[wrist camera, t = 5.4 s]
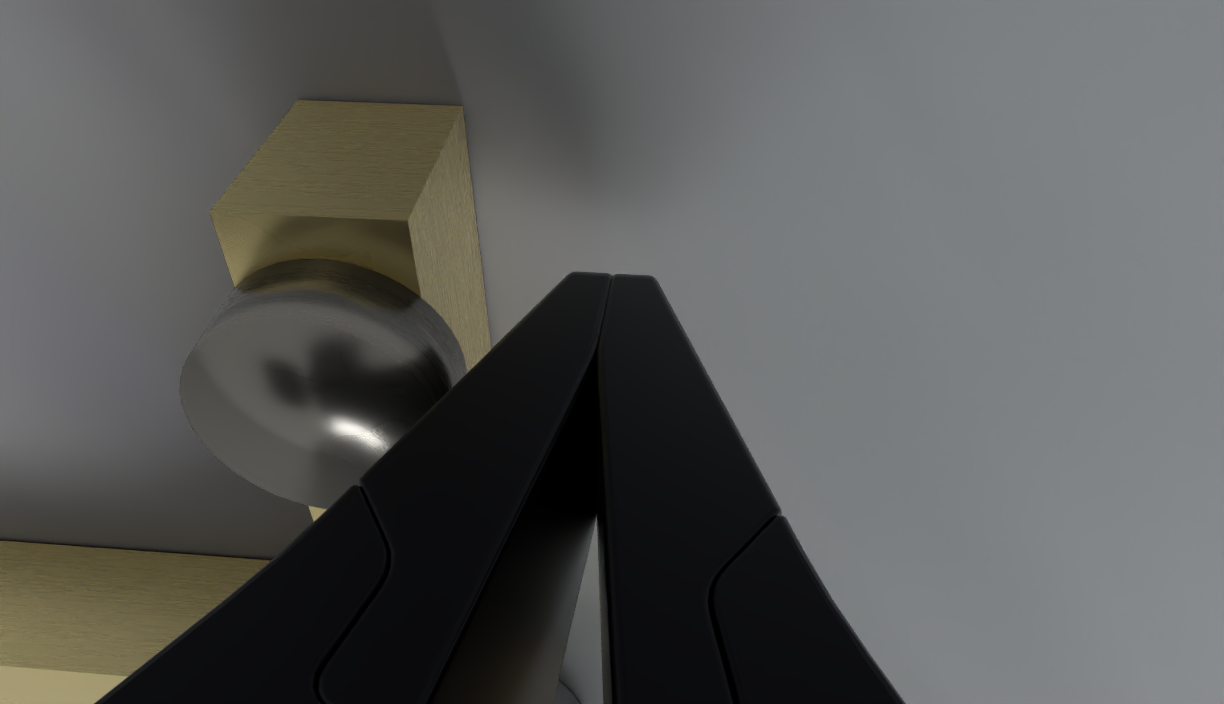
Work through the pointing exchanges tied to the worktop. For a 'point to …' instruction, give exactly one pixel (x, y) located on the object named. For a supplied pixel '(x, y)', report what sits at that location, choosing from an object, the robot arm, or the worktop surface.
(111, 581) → the yellow l-shaped bracket
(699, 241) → the worktop surface
